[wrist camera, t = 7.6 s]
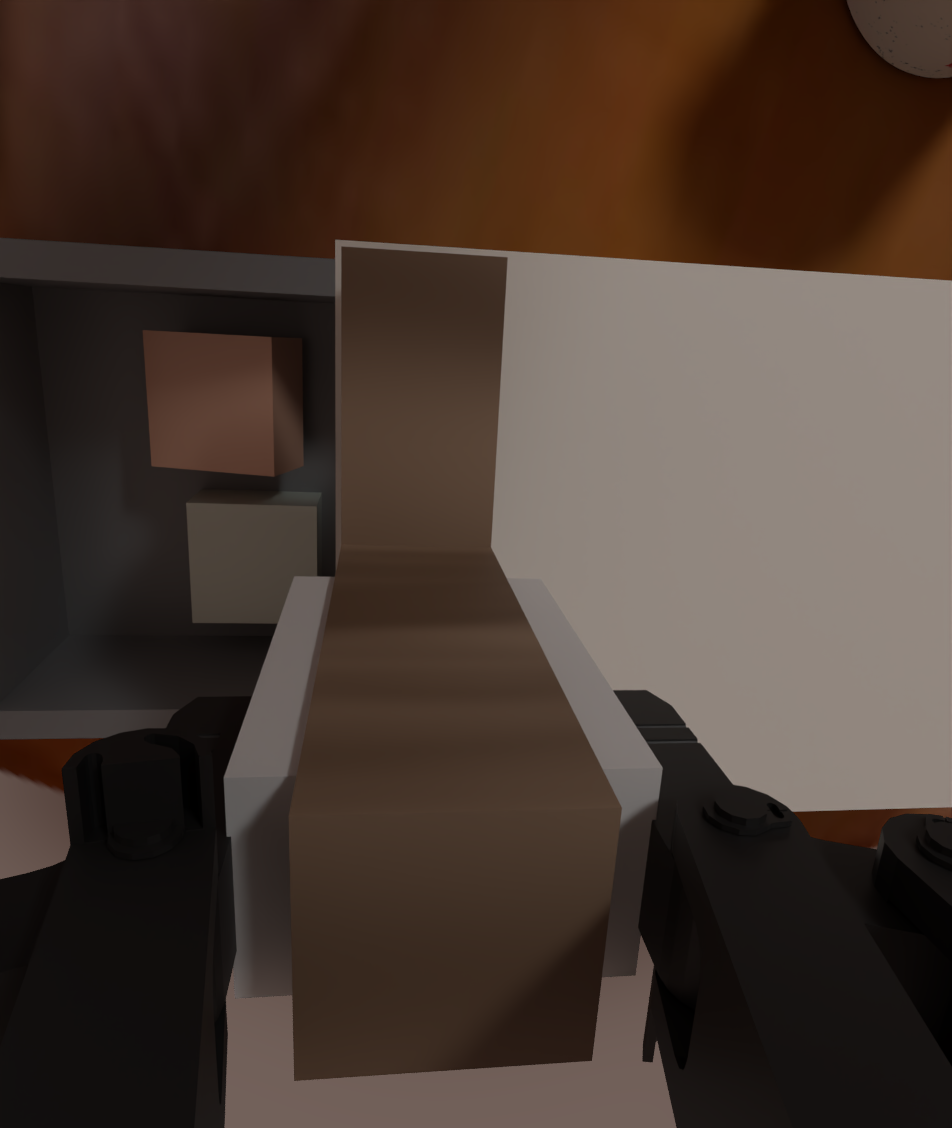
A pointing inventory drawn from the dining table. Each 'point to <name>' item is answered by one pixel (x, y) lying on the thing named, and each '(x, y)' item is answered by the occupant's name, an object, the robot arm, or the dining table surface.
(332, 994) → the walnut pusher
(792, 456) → the board
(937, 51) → the teacup with lid
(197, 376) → the terracotta tile
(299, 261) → the box
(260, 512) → the sage tile
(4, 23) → the dining table surface
